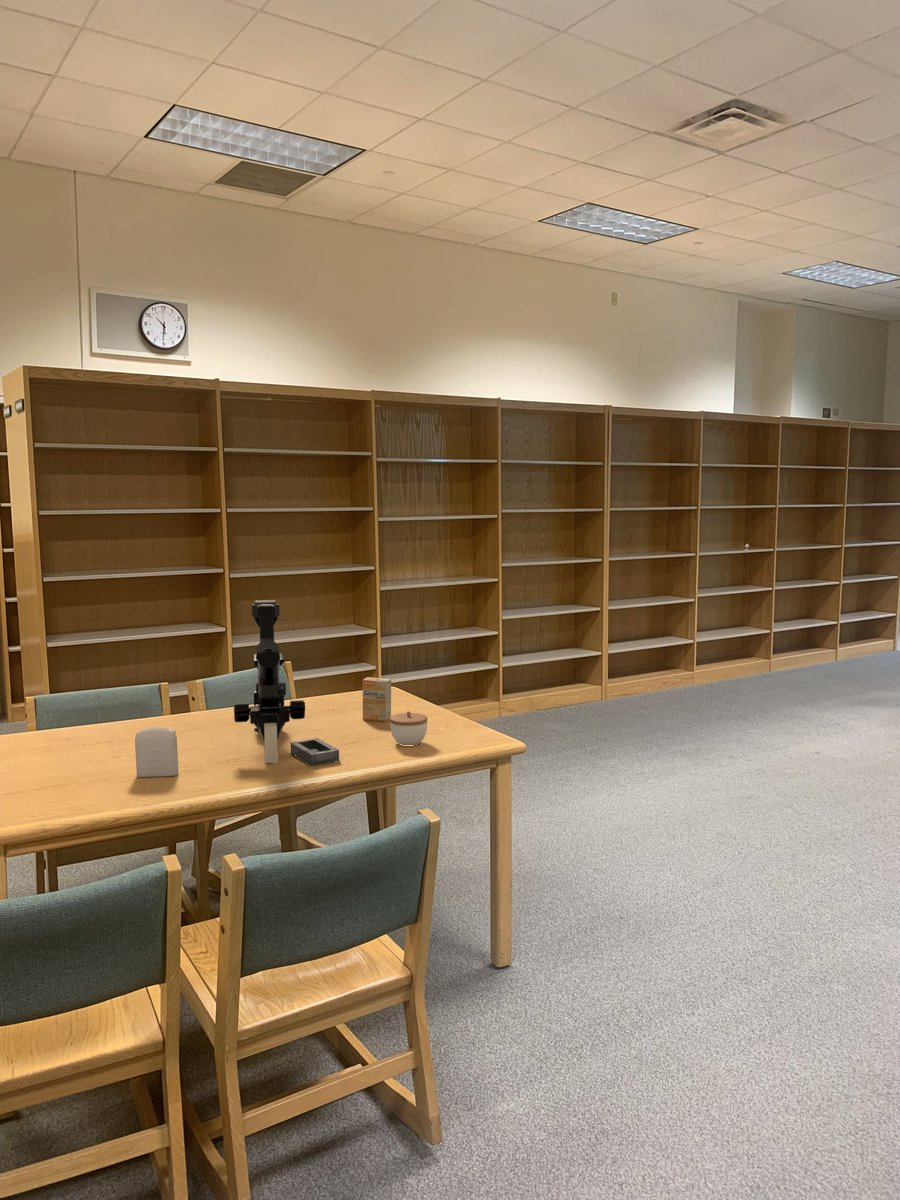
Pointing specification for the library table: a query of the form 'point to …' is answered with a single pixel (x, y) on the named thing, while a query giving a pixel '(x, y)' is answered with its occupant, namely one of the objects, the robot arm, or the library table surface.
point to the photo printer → (156, 752)
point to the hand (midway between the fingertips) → (270, 738)
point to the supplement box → (376, 699)
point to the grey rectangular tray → (314, 751)
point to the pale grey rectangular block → (270, 742)
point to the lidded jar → (408, 727)
